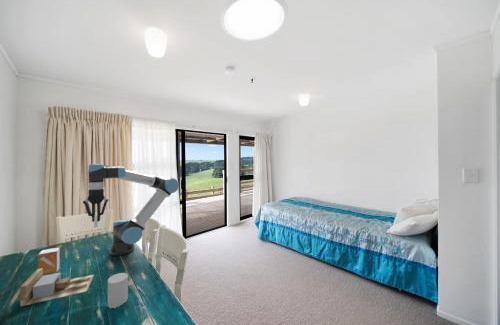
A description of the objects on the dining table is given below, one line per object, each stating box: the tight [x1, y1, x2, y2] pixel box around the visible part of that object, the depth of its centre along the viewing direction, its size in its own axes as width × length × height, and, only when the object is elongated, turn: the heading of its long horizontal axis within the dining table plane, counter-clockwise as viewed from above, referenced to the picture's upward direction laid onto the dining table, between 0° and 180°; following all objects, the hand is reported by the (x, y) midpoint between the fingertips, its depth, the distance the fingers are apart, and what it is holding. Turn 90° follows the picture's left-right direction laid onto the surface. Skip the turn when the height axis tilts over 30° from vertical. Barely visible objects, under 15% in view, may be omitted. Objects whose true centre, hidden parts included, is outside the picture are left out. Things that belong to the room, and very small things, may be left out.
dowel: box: [55, 277, 71, 292], centre depth 102 cm, size 10×4×4 cm, turn 117°
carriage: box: [33, 272, 62, 299], centre depth 101 cm, size 7×10×6 cm
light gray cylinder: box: [107, 272, 129, 309], centre depth 96 cm, size 8×8×12 cm
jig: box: [19, 268, 95, 307], centre depth 103 cm, size 24×16×10 cm, turn 117°
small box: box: [37, 247, 61, 276], centre depth 120 cm, size 8×6×13 cm
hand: (96, 226), depth 124 cm, fingers closed
